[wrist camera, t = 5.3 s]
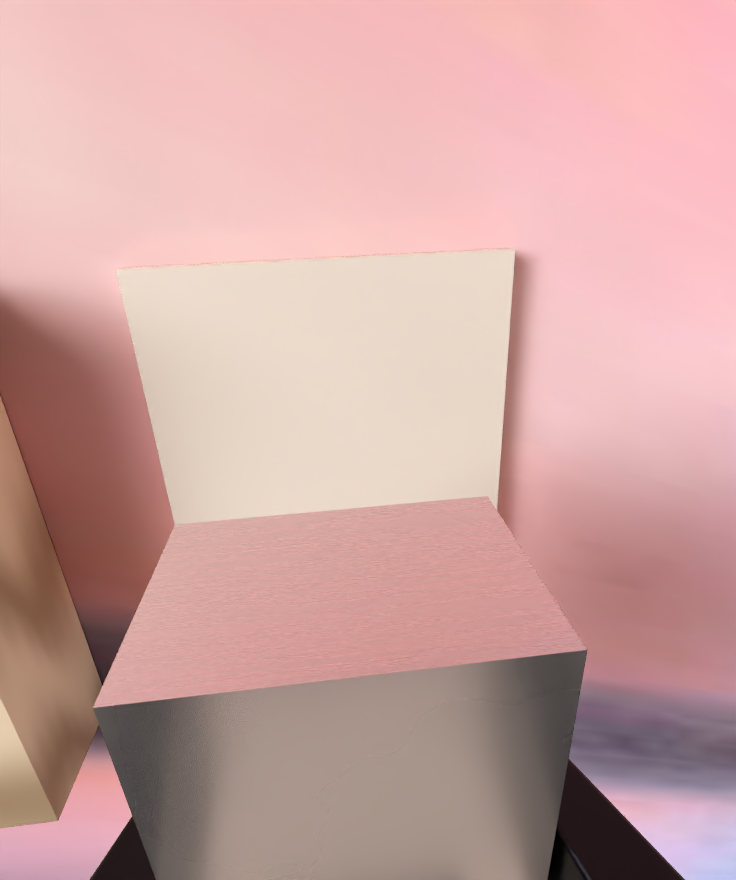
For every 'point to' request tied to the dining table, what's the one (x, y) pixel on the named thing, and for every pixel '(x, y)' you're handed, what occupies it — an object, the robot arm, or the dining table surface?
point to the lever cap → (345, 699)
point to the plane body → (37, 658)
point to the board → (323, 379)
